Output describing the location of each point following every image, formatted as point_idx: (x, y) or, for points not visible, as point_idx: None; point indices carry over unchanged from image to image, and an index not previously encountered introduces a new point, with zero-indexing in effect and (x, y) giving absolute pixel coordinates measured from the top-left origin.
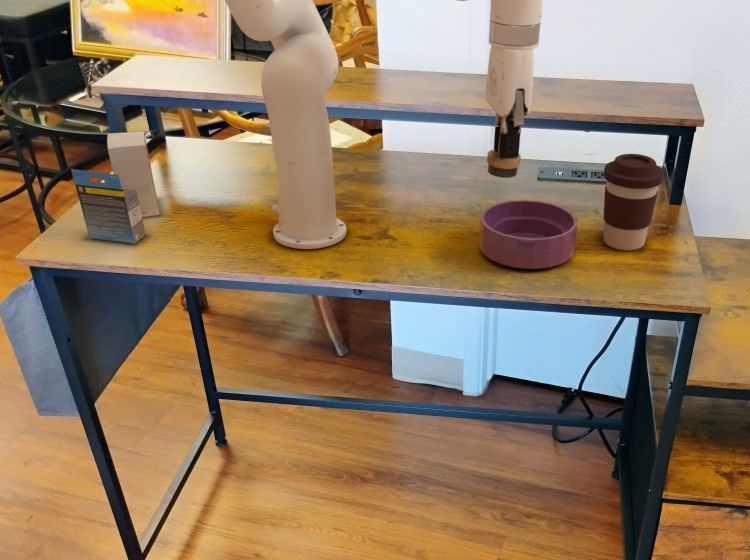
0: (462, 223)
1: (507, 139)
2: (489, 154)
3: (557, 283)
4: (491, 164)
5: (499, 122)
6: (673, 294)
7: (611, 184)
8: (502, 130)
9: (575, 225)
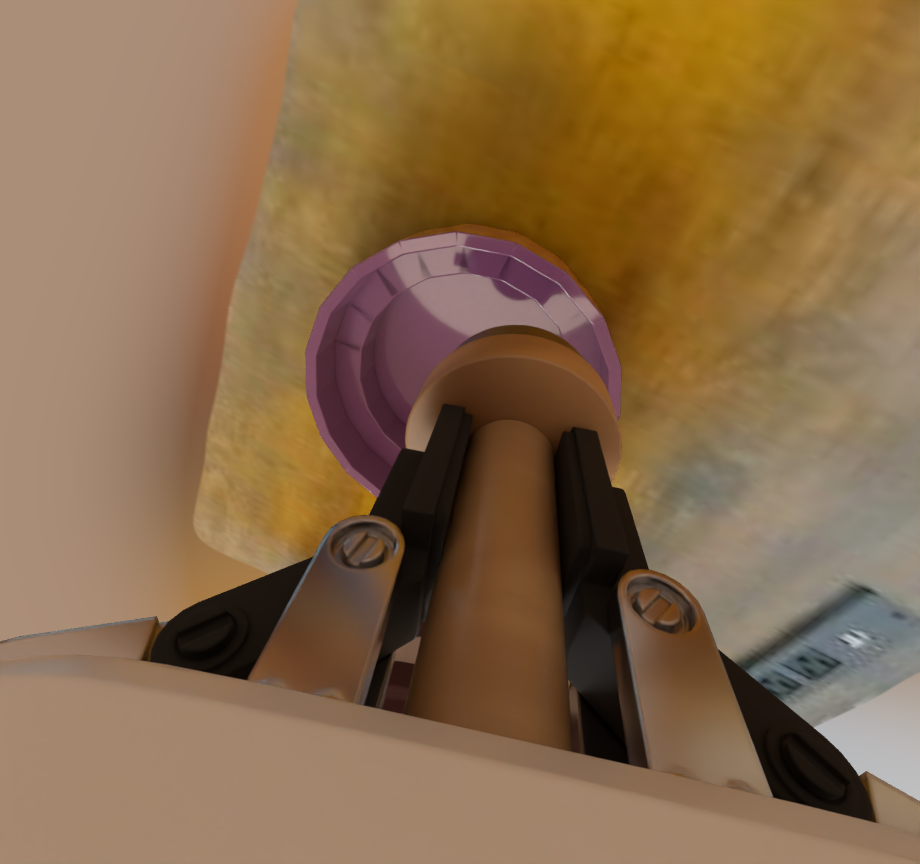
0: (739, 262)
1: (370, 513)
2: (532, 366)
3: (290, 355)
4: (476, 340)
5: (608, 615)
6: (228, 524)
7: (397, 658)
8: (397, 542)
9: (377, 495)
